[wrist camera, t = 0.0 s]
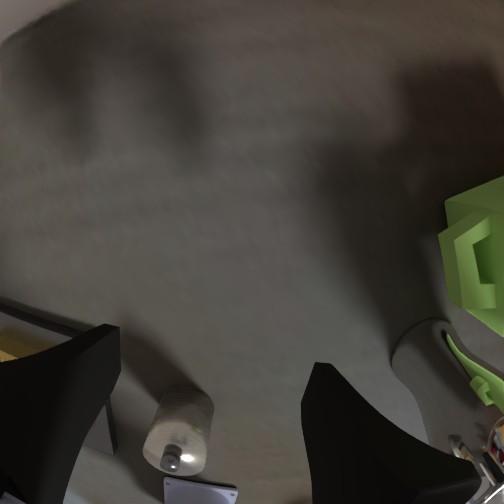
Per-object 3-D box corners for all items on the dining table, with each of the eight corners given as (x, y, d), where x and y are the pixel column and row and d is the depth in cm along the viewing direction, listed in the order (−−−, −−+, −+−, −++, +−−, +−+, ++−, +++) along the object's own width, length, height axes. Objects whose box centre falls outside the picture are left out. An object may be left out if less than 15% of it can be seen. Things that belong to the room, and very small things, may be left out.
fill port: (117, 447, 26) (107, 469, 23) (12, 404, 25) (-1, 420, 22) (104, 338, 22) (87, 360, 19) (-16, 297, 22) (-36, 310, 19)
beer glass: (373, 344, 22) (461, 510, 7) (448, 296, 21) (579, 414, 6) (398, 397, 23) (465, 535, 9) (464, 355, 22) (556, 468, 8)
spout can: (211, 426, 24) (200, 496, 17) (161, 416, 24) (139, 483, 17) (216, 391, 23) (204, 465, 16) (162, 380, 23) (134, 450, 16)
